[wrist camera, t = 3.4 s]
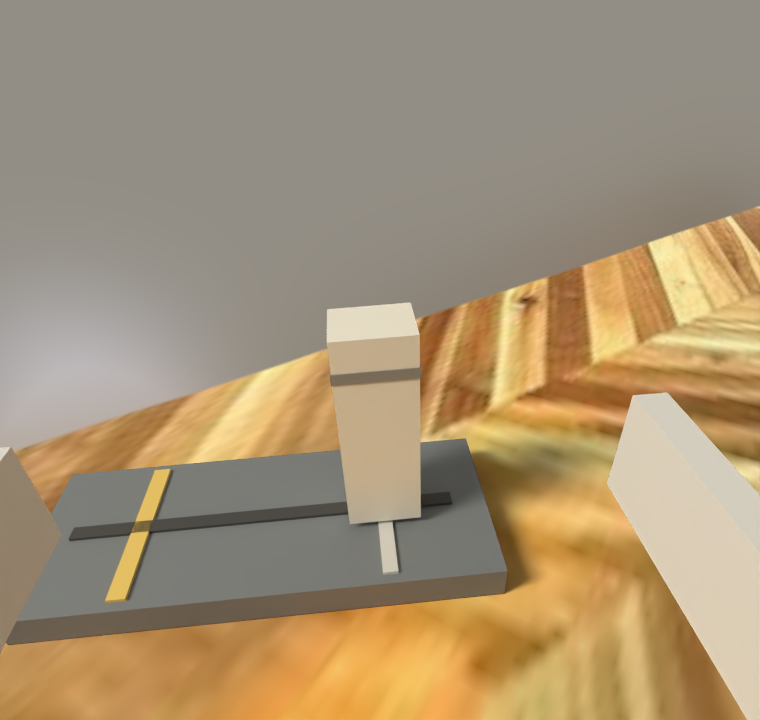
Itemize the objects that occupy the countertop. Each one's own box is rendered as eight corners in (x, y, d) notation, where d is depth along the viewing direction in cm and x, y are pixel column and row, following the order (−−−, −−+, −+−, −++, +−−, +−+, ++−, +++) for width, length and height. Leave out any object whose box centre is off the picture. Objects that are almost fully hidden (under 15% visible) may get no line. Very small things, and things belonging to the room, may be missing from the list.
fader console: (464, 459, 36) (465, 436, 35) (504, 593, 28) (508, 568, 26) (84, 495, 35) (71, 472, 34) (8, 644, 27) (-13, 621, 25)
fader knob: (414, 476, 32) (411, 301, 25) (421, 517, 29) (420, 335, 22) (347, 483, 31) (326, 308, 25) (348, 525, 29) (325, 343, 22)
